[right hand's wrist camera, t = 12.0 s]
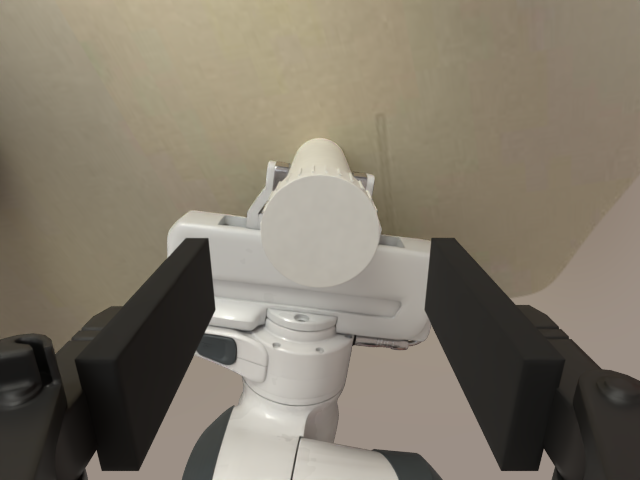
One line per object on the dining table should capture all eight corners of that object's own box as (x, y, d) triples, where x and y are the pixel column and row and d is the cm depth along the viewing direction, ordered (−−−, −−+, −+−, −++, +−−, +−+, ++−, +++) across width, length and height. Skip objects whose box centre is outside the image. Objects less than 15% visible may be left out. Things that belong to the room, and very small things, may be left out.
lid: (268, 269, 21) (262, 289, 19) (262, 164, 19) (255, 173, 17) (373, 269, 21) (378, 288, 19) (377, 163, 19) (384, 172, 17)
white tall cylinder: (294, 190, 36) (272, 276, 19) (292, 138, 34) (267, 181, 18) (345, 190, 36) (368, 276, 19) (346, 137, 34) (372, 180, 18)
